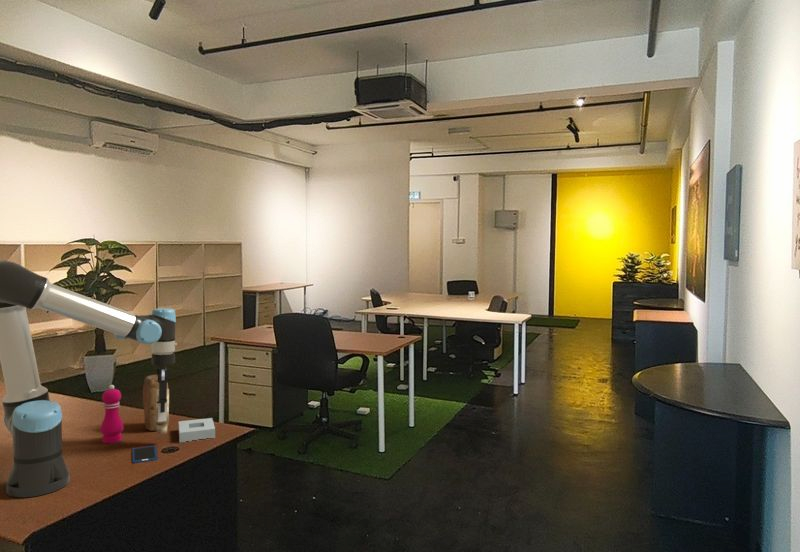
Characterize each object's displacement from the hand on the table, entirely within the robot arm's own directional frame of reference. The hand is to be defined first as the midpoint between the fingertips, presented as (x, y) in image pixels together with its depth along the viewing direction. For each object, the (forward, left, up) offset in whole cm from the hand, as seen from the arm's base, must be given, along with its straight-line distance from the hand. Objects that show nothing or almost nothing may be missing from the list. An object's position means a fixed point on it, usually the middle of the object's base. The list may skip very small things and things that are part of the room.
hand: (162, 419), depth 193 cm
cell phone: (-5, -9, -9) cm, 14 cm away
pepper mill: (-16, +10, -9) cm, 21 cm away
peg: (0, 0, -5) cm, 5 cm away
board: (+12, +6, -9) cm, 16 cm away
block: (-2, +20, -9) cm, 22 cm away
